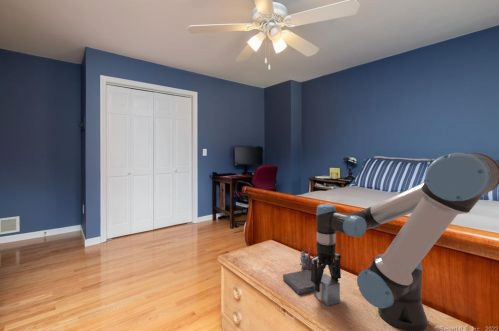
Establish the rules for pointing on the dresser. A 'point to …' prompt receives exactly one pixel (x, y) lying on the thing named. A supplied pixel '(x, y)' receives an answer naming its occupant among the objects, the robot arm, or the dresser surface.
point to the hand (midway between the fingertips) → (326, 297)
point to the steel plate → (300, 281)
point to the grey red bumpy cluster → (306, 260)
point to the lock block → (329, 290)
